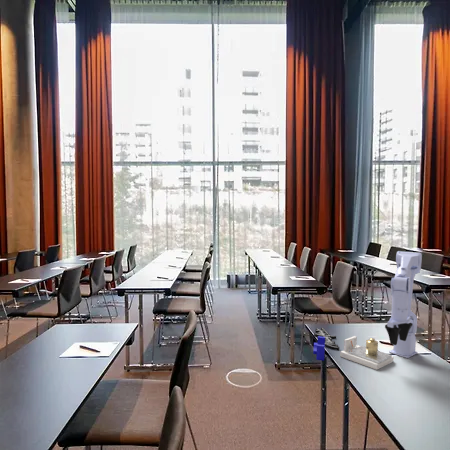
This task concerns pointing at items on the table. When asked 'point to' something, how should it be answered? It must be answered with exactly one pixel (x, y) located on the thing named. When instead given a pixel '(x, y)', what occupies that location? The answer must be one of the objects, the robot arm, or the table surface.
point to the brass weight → (372, 347)
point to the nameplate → (327, 338)
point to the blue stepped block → (319, 348)
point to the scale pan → (362, 353)
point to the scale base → (352, 344)
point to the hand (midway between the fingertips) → (398, 342)
